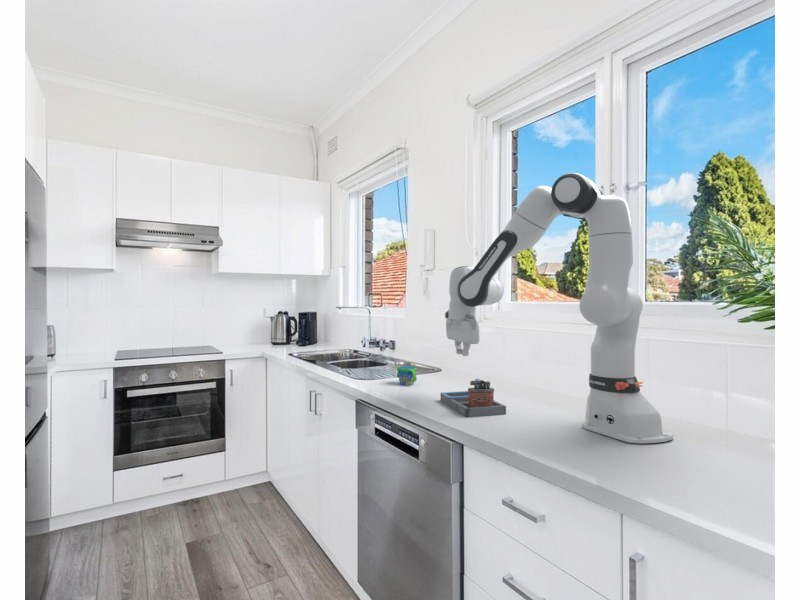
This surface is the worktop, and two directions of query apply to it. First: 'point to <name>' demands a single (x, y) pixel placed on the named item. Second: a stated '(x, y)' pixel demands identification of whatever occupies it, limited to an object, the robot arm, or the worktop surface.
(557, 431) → the worktop surface
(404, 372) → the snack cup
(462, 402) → the divider tray
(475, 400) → the lighter
